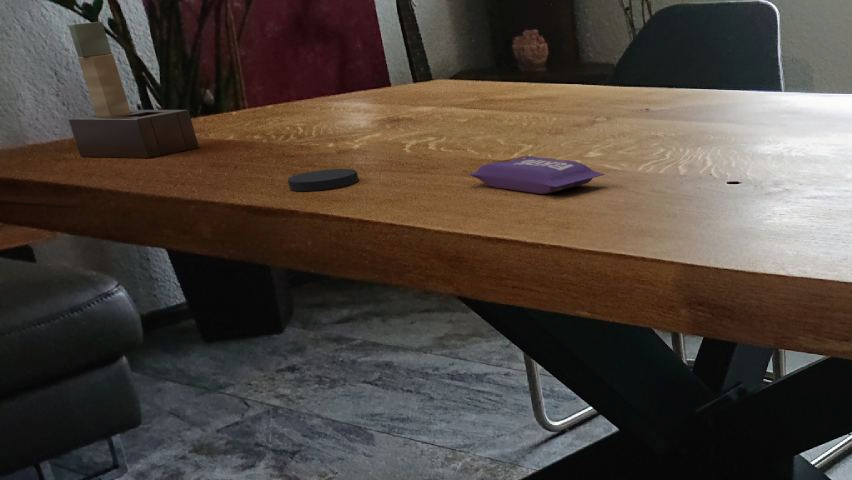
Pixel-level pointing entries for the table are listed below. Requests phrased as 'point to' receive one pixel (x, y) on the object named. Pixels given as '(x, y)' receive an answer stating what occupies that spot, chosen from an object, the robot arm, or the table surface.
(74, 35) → the green and tan bar
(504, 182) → the snack package
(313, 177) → the coaster
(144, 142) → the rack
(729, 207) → the table surface
